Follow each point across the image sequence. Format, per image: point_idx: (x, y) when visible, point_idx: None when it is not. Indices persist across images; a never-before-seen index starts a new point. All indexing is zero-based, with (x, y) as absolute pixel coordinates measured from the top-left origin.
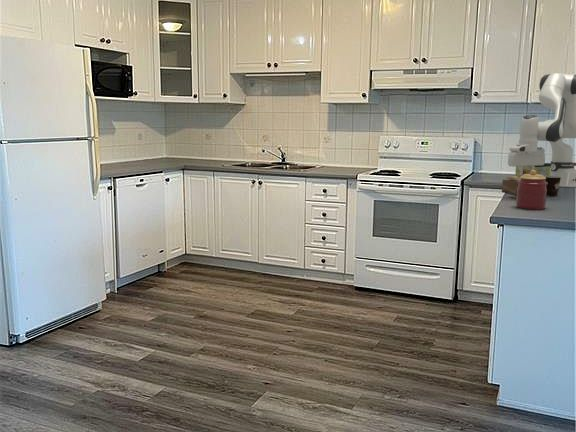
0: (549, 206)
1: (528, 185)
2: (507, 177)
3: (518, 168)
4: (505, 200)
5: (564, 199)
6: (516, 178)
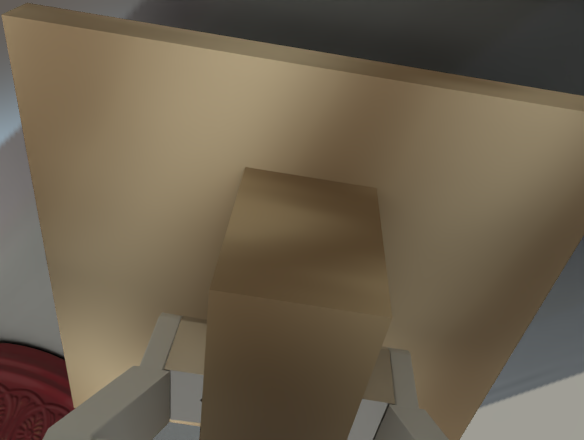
0: (175, 425)
1: None
2: (17, 59)
3: (64, 419)
4: (6, 150)
5: (559, 343)
6: (54, 300)
